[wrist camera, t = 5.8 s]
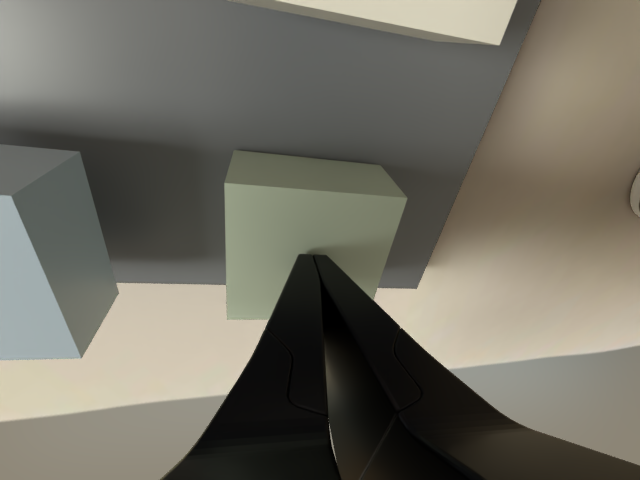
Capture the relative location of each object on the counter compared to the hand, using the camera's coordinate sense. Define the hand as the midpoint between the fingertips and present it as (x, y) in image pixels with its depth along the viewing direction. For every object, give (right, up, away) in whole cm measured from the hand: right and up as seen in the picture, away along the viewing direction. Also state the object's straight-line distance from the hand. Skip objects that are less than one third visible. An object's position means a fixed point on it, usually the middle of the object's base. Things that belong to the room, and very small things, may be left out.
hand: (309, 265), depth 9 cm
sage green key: (0, +1, +2) cm, 3 cm away
